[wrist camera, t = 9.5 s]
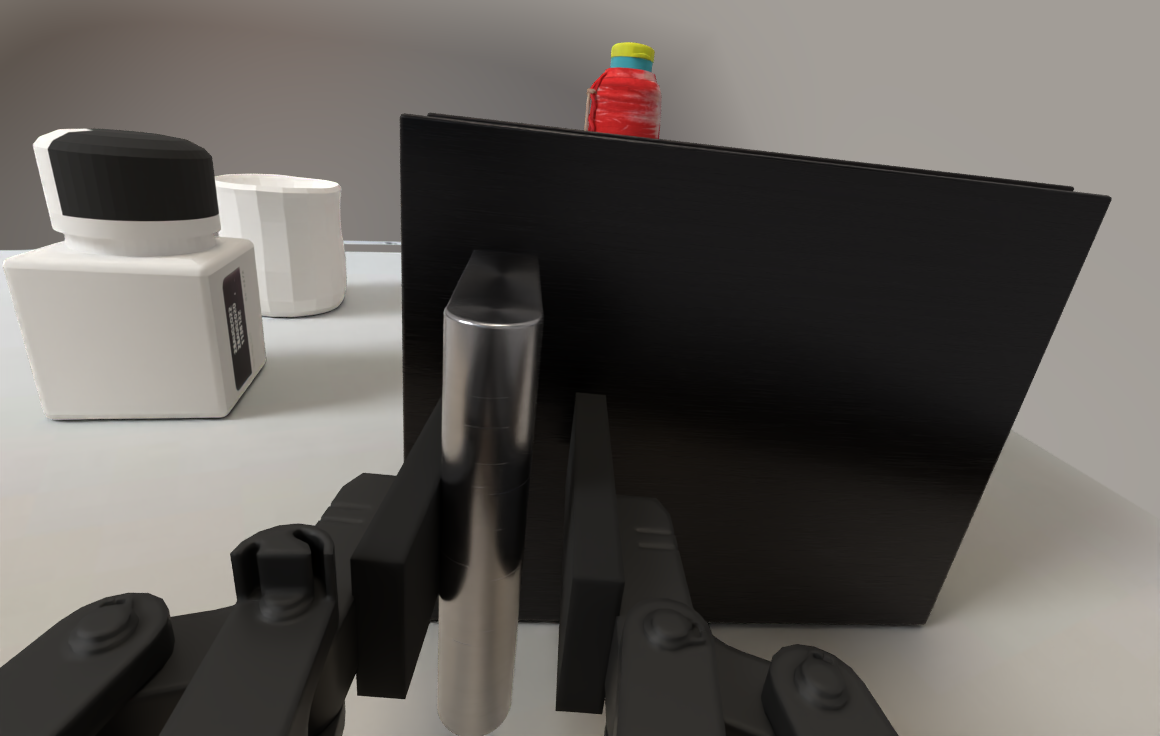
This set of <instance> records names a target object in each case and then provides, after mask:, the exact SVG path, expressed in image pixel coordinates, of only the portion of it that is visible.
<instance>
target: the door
mask: <svg viewBox="0 0 1160 736" xmlns="http://www.w3.org/2000/svg"><path fill="white" fill-rule="evenodd" d="M400 179H401V180H400V181H401V266H402V350H403V434H404V462H405V460H406V458H407V456H408V455H409V453H410V451H411V449H412V447H413V446H414V444H415V442H416V440H417V438H418V437H419V435H420V433H421V431H422V430H423V428H424V426H425V424H426V422H427V421H428V419H429V417H430V415H431V413H432V412H433V410H434V408H435V406H436V405H437V403H438V401H439V399H440V397H441V396H442V447H441V508H440V568H439V594H438V597H437V600H436V604H435V607H434V610H433V613H432V616H431V619H439V629H438V690H437V710H438V715H439V717H440V720H441V721H442V723H443V724H444V726H445V727H446V728H447V729H448V730H449V731H451V732H452V733H454V734H456V735H459V736H484V735H486V734H488V733H491V732H492V731H494V730H495V729H496V728H498V727H499V726H500V725H501V724H502V723H503V721H504V720H505V719H506V717H507V715H508V713H509V711H510V707H511V700H512V688H513V676H514V665H515V653H516V641H517V629H518V620H548V621H560V600H561V577H562V554H563V531H564V508H565V485H566V476H567V467H568V458H569V450H570V441H571V432H572V424H573V415H574V406H575V397H576V392H577V393H588V394H598V395H606V403H607V412H608V422H609V432H610V442H611V451H612V461H613V471H614V480H615V490H616V494H618V495H629V496H640V497H650V498H657V499H658V500H659V502H660V503H661V504H662V505H663V506H664V508H665V509H666V510H667V511H668V512H669V514H670V516H671V520H672V524H673V528H674V535H675V536H676V540H677V544H678V550H679V553H680V557H681V561H682V565H683V569H684V573H685V577H686V581H687V585H688V589H689V593H690V597H691V601H692V606H693V608H694V610H695V611H696V612H698V613H699V614H700V615H701V616H702V618H703V619H704V620H705V621H706V622H735V623H828V624H922V625H924V624H925V623H926V622H927V620H928V617H929V615H930V613H931V611H932V608H933V606H934V604H935V601H936V599H937V597H938V595H939V592H940V590H941V588H942V585H943V583H944V581H945V579H946V576H947V574H948V572H949V569H950V567H951V565H952V563H953V560H954V558H955V556H956V553H957V551H958V549H959V547H960V544H961V542H962V540H963V538H964V535H965V533H966V531H967V528H968V526H969V524H970V522H971V519H972V517H973V515H974V512H975V510H976V508H977V506H978V503H979V501H980V499H981V496H982V494H983V492H984V490H985V487H986V485H987V483H988V480H989V478H990V476H991V474H992V471H993V469H994V467H995V465H996V462H997V460H998V458H999V455H1000V453H1001V451H1002V449H1003V446H1004V444H1005V442H1006V439H1007V437H1008V435H1009V433H1010V430H1011V428H1012V426H1013V423H1014V421H1015V419H1016V416H1017V414H1018V412H1019V410H1020V407H1021V405H1022V403H1023V401H1024V398H1025V396H1026V394H1027V392H1028V389H1029V387H1030V384H1031V382H1032V380H1033V378H1034V376H1035V373H1036V371H1037V369H1038V366H1039V364H1040V362H1041V359H1042V357H1043V355H1044V353H1045V350H1046V348H1047V346H1048V344H1049V341H1050V339H1051V336H1052V335H1053V332H1054V330H1055V327H1056V325H1057V323H1058V321H1059V319H1060V316H1061V314H1062V312H1063V309H1064V307H1065V305H1066V302H1067V300H1068V298H1069V296H1070V293H1071V291H1072V289H1073V286H1074V284H1075V282H1076V280H1077V277H1078V275H1079V273H1080V271H1081V268H1082V266H1083V264H1084V262H1085V259H1086V257H1087V255H1088V252H1089V250H1090V248H1091V245H1092V243H1093V241H1094V239H1095V236H1096V234H1097V232H1098V229H1099V227H1100V225H1101V223H1102V220H1103V218H1104V216H1105V213H1106V211H1107V209H1108V207H1109V204H1110V202H1111V197H1109V196H1107V195H1099V194H1090V193H1081V192H1073V191H1064V190H1056V189H1047V188H1039V187H1030V186H1021V185H1013V184H1004V183H996V182H987V181H979V180H970V179H961V178H953V177H944V176H936V175H927V174H919V173H910V172H901V171H893V170H884V169H876V168H867V167H859V166H850V165H841V164H833V163H824V162H816V161H807V160H799V159H790V158H781V157H773V156H764V155H756V154H747V153H739V152H730V151H721V150H713V149H704V148H696V147H687V146H679V145H670V144H662V143H653V142H644V141H636V140H627V139H619V138H610V137H602V136H593V135H584V134H576V133H567V132H559V131H550V130H542V129H533V128H524V127H516V126H507V125H499V124H490V123H482V122H473V121H464V120H456V119H447V118H439V117H430V116H422V115H413V114H401V116H400Z"/></svg>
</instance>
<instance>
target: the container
mask: <svg viewBox="0 0 1160 736" xmlns="http://www.w3.org/2000/svg"><path fill="white" fill-rule="evenodd" d="M33 148H34V152H35V157H36V161H37V165H38V169H39V173H40V178H41V182H42V186H43V190H44V194H45V199H46V203H47V207H48V211H49V215H50V219H51V223H52V228H53V229H54V230H55V231H58V232H61V233H64V236H65V241H62V242H59V243H56V244H52V245H49V246H45V247H42V248H39V249H35V250H32V251H29V252H25V253H22V254H19V255H15V256H12V257H9V258H7V259H6V260H5V261H4V262H3V269H4V273H5V277H6V280H7V284H8V287H9V291H10V295H11V298H12V302H13V305H14V309H15V313H16V316H17V320H18V323H19V327H20V331H21V334H22V338H23V341H24V345H25V349H26V352H27V356H28V359H29V363H30V367H31V370H32V374H33V377H34V381H35V385H36V388H37V392H38V395H39V399H40V403H41V406H42V410H43V413H44V415H45V416H46V417H47V418H49V419H52V420H72V419H146V418H219V417H225V416H226V415H227V414H228V413H229V412H230V411H231V410H232V408H233V407H234V405H235V404H236V403H237V401H238V400H239V398H240V397H241V396H242V394H243V393H244V392H245V390H246V389H247V387H248V386H249V385H250V383H251V382H252V380H253V379H254V378H255V376H256V375H257V374H258V372H259V371H260V369H261V368H262V367H263V365H264V364H265V362H266V352H265V342H264V333H263V324H262V315H261V306H260V297H259V287H258V278H257V269H256V260H255V251H254V245H253V242H251V241H250V240H248V239H243V238H232V237H215V236H214V233H216V232H218V231H220V230H221V223H220V215H219V208H218V200H217V192H216V184H215V177H214V170H213V162H212V156H211V155H210V154H209V153H208V152H207V151H206V150H205V149H204V148H202V147H200V146H198V145H196V144H194V143H192V142H190V141H188V140H185V139H181V138H176V137H170V136H165V135H160V134H152V133H144V132H134V131H122V130H109V129H59V130H56V131H53V132H50V133H48V134H45V135H43V136H40V137H39V138H38V139H37V140H36V141H35V143H34V144H33Z"/></svg>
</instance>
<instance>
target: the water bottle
mask: <svg viewBox="0 0 1160 736" xmlns="http://www.w3.org/2000/svg"><path fill="white" fill-rule="evenodd" d="M611 53H612V54H611V67H610V68H609V69H606V71H605V73H603V74H602V75H601V76H600V77H599V78H598V79H597V80H596V81H595V82H594V84H593V85H592V87H591V88H590V89H588V90H587V91H588V92H587V95H588V99H587V105H586V116H585V127H584V131H587V127H588V121H589V128H588V131H593V132H602V133H610V134H619V135H628V136H637V137H645V138H654V139H659V131H660V118H661V117H660V116H661V92H660V87H659V85H658V84H657V82H656V77H655V74H653V73H652V72H651V70H652V63H653V60H654V53H655V52H654V50H653V49H652V48H651V47H649V46H646V45H643V44H638V43H631V42H626V43H618V44H615V45H614V46H613V47H612V52H611ZM592 94H593V95H592ZM590 98H591V99H592V104H591V110H590V114H589V106H590Z"/></svg>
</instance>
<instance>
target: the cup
mask: <svg viewBox="0 0 1160 736" xmlns="http://www.w3.org/2000/svg"><path fill="white" fill-rule="evenodd" d="M214 177H215V184H216V192H217V200H218V208H219V215H220V223H221V230H220V231H218V234H219V237H232V238H243V239H248V240H250V241H251V242H253V245H254V251H255V260H256V269H257V278H258V287H259V297H260V306H261V315H262V316H269V317H299V316H308V315H316V314H320V313H324V312H328V311H331V310H333V309H335V308H337V307H338V306H339V305H340V304H341V302H342V301H343V299H344V297H345V292H346V286H347V276H346V256H345V249H344V243H343V237H342V231H341V219H340V198H341V192H342V189H341V187H340V186H339V184H337V183H336V182H331V181H325V180H318V179H309V178H301V177H292V176H284V175H275V174H227V175H220V176H214Z"/></svg>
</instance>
